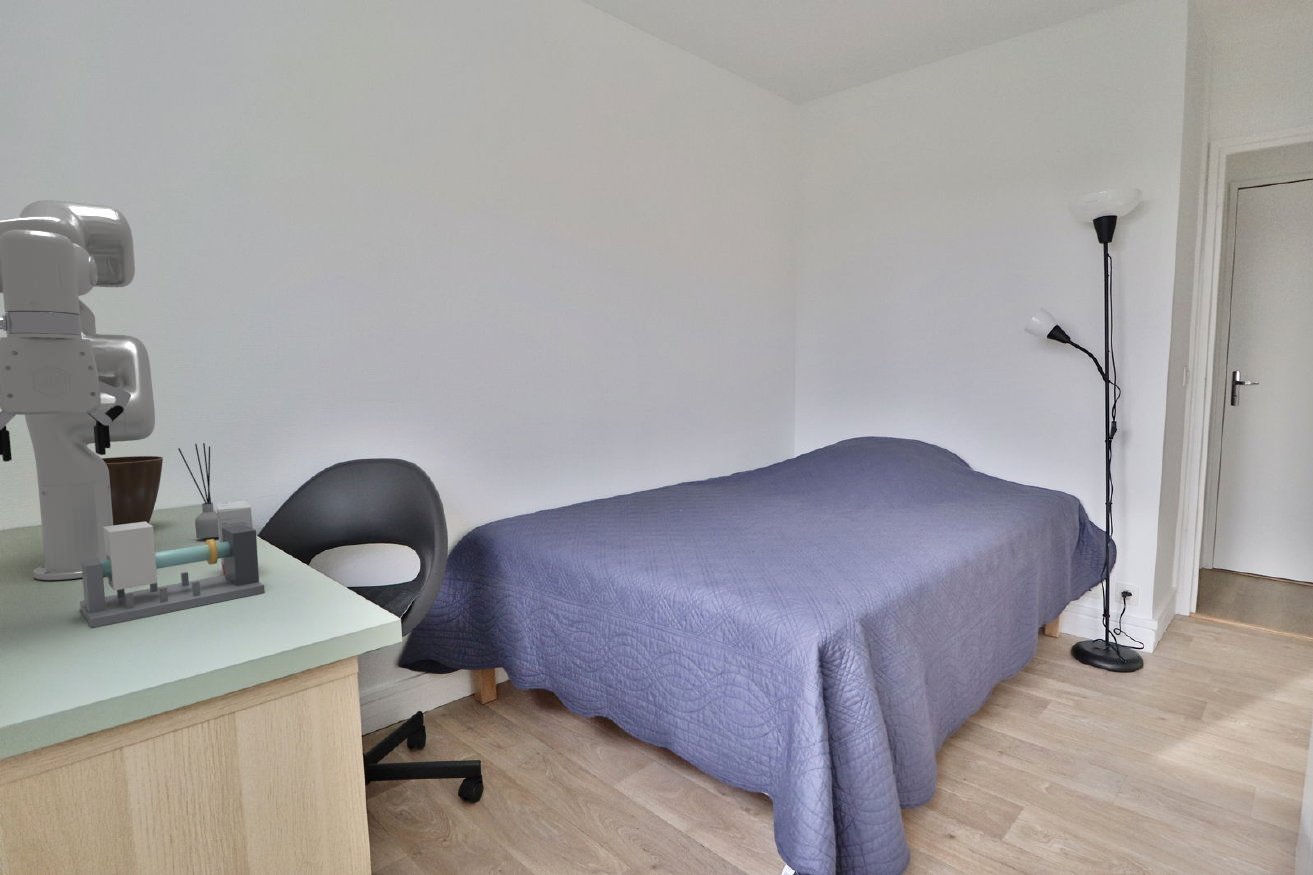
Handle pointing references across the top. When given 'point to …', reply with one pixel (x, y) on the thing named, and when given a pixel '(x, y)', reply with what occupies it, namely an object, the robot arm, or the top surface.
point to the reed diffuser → (205, 505)
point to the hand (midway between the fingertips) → (55, 457)
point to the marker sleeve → (130, 555)
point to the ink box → (233, 517)
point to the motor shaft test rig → (187, 594)
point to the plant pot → (133, 487)
